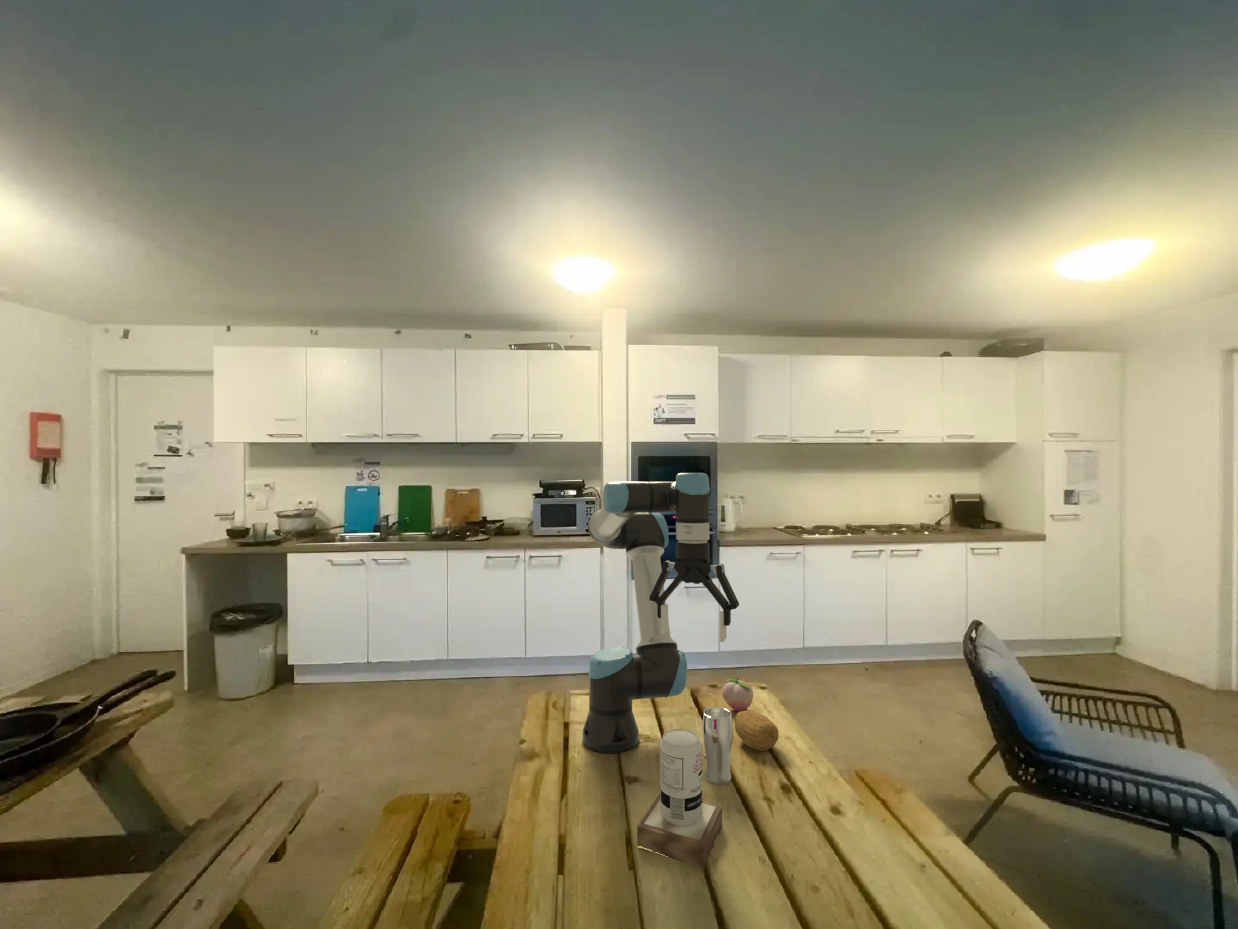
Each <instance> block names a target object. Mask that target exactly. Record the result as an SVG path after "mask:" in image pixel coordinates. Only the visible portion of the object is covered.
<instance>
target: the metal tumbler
mask: <svg viewBox="0 0 1238 929" xmlns="http://www.w3.org/2000/svg"><path fill="white" fill-rule="evenodd" d="M702 718H703V719H702V739H703V745H704V750H705V756H706V757H705V758H706V766H705V773H704V778H705V780H707V782H709V783H711V784H713V785H725V784H728V783H730V782H731V781H732V774H731V768H730V758H731V751H732V745H733V739H734V738H733V737H734V736H733V734H734V730H733V727H734V726H733V717H732V711H730V710H729V709H727V708H725V707H720V706H711V707H707V708H705V709H704V710H703V717H702Z"/></svg>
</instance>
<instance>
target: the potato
mask: <svg viewBox="0 0 1238 929" xmlns="http://www.w3.org/2000/svg"><path fill="white" fill-rule="evenodd" d="M734 730H735V733H736V735H737V736H738V737H739V739H740V740H741V741H742V743H743V744H745V745H746V746H747V747H749V748H752V749H755V750H757V751H762V752H763V751H767V750H770V749H771V748H773V747H775V745H776V744H777V742H778V740H779V734H780V733H779V732H780V731H779V729H778V727H777V726H776V724H775V723H774V722H773V721H771V719H769V718H768V717H767V716H766V715H763V714H760V713H758V712H755V711H753V710H746V709H745V710H742V711H738V712H737V713H736V715H735V719H734Z"/></svg>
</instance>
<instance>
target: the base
mask: <svg viewBox="0 0 1238 929" xmlns="http://www.w3.org/2000/svg"><path fill="white" fill-rule="evenodd" d="M721 828H723V806H722V805H719V804H715V803H710V802H706V801H703V800H702V816H701V818H700V819H699V820H698V821H697V822H696V823H695V824H693V825H690V826H676V825H673V824H671V823H669V822H668V821H666V820H665V818H664V817H662V815H661V813H660V793H659V794H658V795H657V796H656V798H655V800H654V801H653V803H652V804H651V806H650V807H649V809H647V812H646V813H645V814H644V816H643V817H642V818H641V820H640V822H639V823H638V824H637V827H636V829H637V830H636V831H637V832H636V834H637V835H636V836H637V838H636V839H637V840H636V843H637V845H638V846H642V847H644V848H647V849H650V850H652V851H653V852H658V853H660V854H663V855H665V856H668V857H669V859H671V858H672V860H675V859H676V860H675V861H678V860H679V861H678V862H682V863H684V864H687V865H690V866H691V865H692V866H694V867H697V868H701V869H705V868H706V864H707V863H708V861H707V860H709V858H710V856H711V854H710V852H711V853H712V851H713V849H714V847H715V845H714V843H715V844H716V842H717V840H718V838H717V836H718V837H719V835H720V833H721V831H720V830H722V829H721ZM718 834H719V835H718ZM716 839H717V840H716ZM715 841H716V842H715ZM637 845H636V846H637ZM713 846H714V847H713ZM712 848H713V849H712ZM711 850H712V851H711ZM709 855H710V856H709ZM665 856H664V857H665ZM668 857H667V858H668ZM708 857H709V858H708Z"/></svg>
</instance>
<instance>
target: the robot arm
mask: <svg viewBox="0 0 1238 929" xmlns="http://www.w3.org/2000/svg"><path fill="white" fill-rule="evenodd" d="M602 490H603V491H602V504H603V505H602V507H601V508H600V509H599V510H597V511H595V512H594V513H592V515H591V517H590V519H589V521H588V524H587V527H588V528H587V529H588V533H589V535H590V537H591V539H592V540H593V541H594V542H595V543H596V544H598V545H600V546H602V547H604V548H606V549H611V550H625V553H626V554H625V555H626V557H627V558H629V559H630V560H631V563H632V571H633V582H634V591H635V599H636V600H635V601H636V609H637V619H638V627H639V628H638V629H639V638H640V641H639V643H638V644H637V645H636V647H635V651H636V652H635V653H633V652H632V650H631V649H630V648H628V647H620V646H615V647H608V648H604V649H601V650H599V651H597V652H596V653H594V654H592V656H591V657H590V660H589V665H588V668H589V669H588V679H589V680H588V683H589V684H588V687H589V688H588V689H589V690H588V693H589V695H588V699H589V700H588V701H589V702H588V705H589V706H588V707H589V710H588V713H587V717H586V720H585V723H584V725H583V729H582V743H583V745H584V746H585V747H586V748H588V749H589V750H591V751H594V752H596V753H597V752H598V753H604V754H618V753H622V752H626V751H629V750H631V749H633V748H634V747H636V746H637V744H638V743H639V741H640V739H639V738H640V736H639V735H640V733H639V728H638V725H637V721H636V719H635V718H636V717H635V715H634V712H633V700H643V699H644V700H646V699H658V698H669V697H674V696H678V695H681V694H682V693H683V692H684V690H685V687H686V684H687V679H688V662H687V656H686V653H685V652H684V651H683V650H681V649H678V643H677V642H676V641H675V640H674V639H673V638H672V637H671V631H670V622H669V603H668V602H667V599H668V598H669V597H670V596H671V594H672V593H673V592H674V591H675V590H676V589H677V588H678V587H679V585H681V583H682V582H684V583H685V584H691V583H692V584H695V585H699V584H702V585H703V587H705V588H706V589H707V591H708V592H709V593H710V595H711V596H712V597H713V599H714V600H715V601H716V603H718V605H719V606H720V607H721V610H719V642H723V643H725V641H726V639H727V627H729V626H730V625H731V622H732V616H731V615H732V613H731V611H732V610H736V609H737V608H738V607H739V606H740V602H739V600H738V598H737V596H736V594H735V592H734V590H733V587H732V586H731V583H730V581H729V579H728V578H727V575H726V570H725V565H724V564H723V563H720V564H711V561H710V559H711V558H710V556H711V555H710V554H711V553H710V552H711V550H710V549H711V548H710V543H709V540H710V534H711V533H710V492H711V489H710V477H709V476H708V474H707V473H705V472H680V473H679V472H678V473H677V474H676V477H675V481H673V480H672V481H622V480H618V481H609V482H606V483H605V484H604V486H603V489H602ZM666 513H667V514H668V513H672V514H673V513H675V539H676V540H677V542H676V543H675V558H676V559H675V560H676V561H675V562H673V561H672V562H671V560H669V559H668V560H666V561H663V562H661V561H662V560H661V556H663V554H664V552H665V548H666V547H668V545H669V527H668V525H667V524H668V523H667V521H666V519H665V516H664V515H663V514H666ZM673 569H674V570H675V572H676V573H677V575H676V577H675V578H674V579H673V580H672V582H671V583H670V584H669V586H668V587H667V588H666V589H665V586H664V585H665V583H666V581H667V579H668V577H669V575H670V572H672V571H673ZM711 571H712V572H713V573H714V576H716V577H717V580H718V582H719V584H720V586H721V588H722V590H723V592H724V594H723V593H722V592H721V591H720V589H719V587H718V586H717V585H716V584H715V583H714V581H713V579H712V578H711V577H710V572H711Z"/></svg>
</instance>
